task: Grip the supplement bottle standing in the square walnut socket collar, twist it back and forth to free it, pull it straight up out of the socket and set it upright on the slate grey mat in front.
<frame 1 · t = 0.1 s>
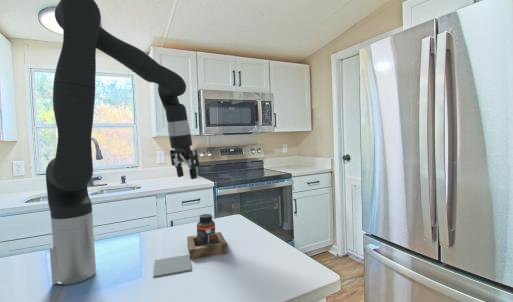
hand: (187, 177, 99), 22 cm above the countertop, tool pointing down, fingers open, 8 cm apart
supplement bottle: (206, 249, 89), resting in socket collar
socket collar: (206, 249, 89), on the countertop
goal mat: (172, 265, 78), on the countertop
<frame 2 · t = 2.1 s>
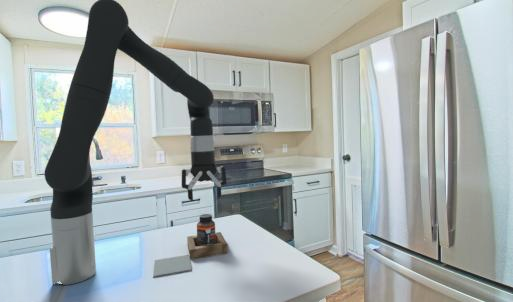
hand: (205, 199, 88), 17 cm above the countertop, tool pointing down, fingers open, 8 cm apart
nothing on the countertop moved.
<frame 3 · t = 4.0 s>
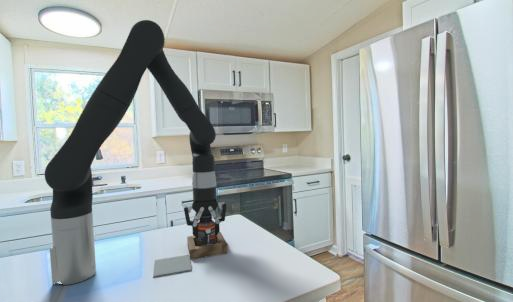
hand: (206, 235, 89), 5 cm above the countertop, tool pointing down, fingers closed on supplement bottle, 6 cm apart
supplement bottle: (206, 249, 89), resting in socket collar, touching gripper
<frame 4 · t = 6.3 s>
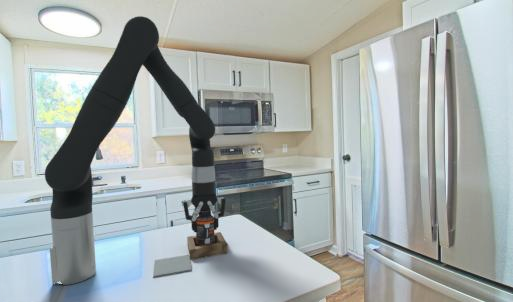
hand: (205, 230, 89), 6 cm above the countertop, tool pointing down, fingers closed on supplement bottle, 6 cm apart
supplement bottle: (205, 244, 89), point 1 cm above the countertop, touching gripper
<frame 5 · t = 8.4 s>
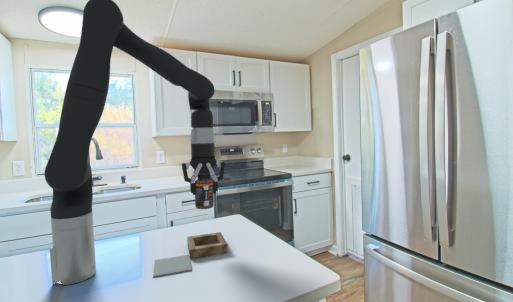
hand: (204, 193, 88), 19 cm above the countertop, tool pointing down, fingers closed on supplement bottle, 6 cm apart
supplement bottle: (204, 208, 88), point 14 cm above the countertop, touching gripper
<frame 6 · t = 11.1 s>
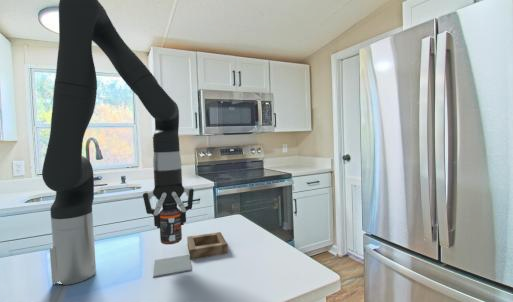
hand: (170, 225, 78), 12 cm above the countertop, tool pointing down, fingers closed on supplement bottle, 6 cm apart
supplement bottle: (171, 242, 78), point 7 cm above the countertop, touching gripper
when the fingers open (6 cm above the countertop, at t = 13.1 s): supplement bottle stays where it is, resting on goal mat.
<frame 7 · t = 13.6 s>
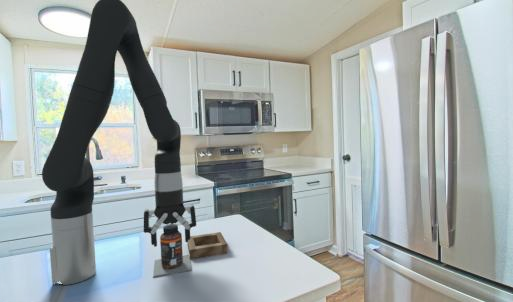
hand: (171, 243, 78), 7 cm above the countertop, tool pointing down, fingers open, 8 cm apart
supplement bottle: (172, 265, 78), resting on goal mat
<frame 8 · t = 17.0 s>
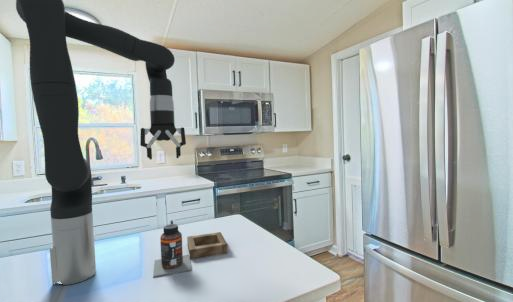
hand: (164, 158, 91), 30 cm above the countertop, tool pointing down, fingers open, 8 cm apart
nothing on the countertop moved.
at the end: supplement bottle inside the target area on the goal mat (0.1 cm from its centre), point 0.2 cm above the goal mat's base; supplement bottle tilted 0°; the gripper is holding nothing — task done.
